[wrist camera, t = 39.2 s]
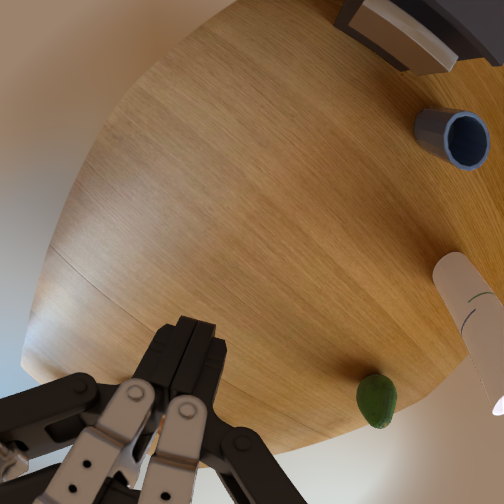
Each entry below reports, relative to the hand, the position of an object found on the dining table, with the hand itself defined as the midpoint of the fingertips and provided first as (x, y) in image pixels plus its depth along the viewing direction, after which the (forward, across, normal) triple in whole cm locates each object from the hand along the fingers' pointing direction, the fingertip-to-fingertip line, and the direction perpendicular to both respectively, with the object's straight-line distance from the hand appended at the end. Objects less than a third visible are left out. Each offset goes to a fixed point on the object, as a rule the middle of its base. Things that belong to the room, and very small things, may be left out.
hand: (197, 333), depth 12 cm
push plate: (+16, -8, -17) cm, 25 cm away
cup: (+29, -20, -12) cm, 37 cm away
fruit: (+29, -30, +34) cm, 54 cm away
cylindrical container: (+29, -32, +7) cm, 44 cm away
